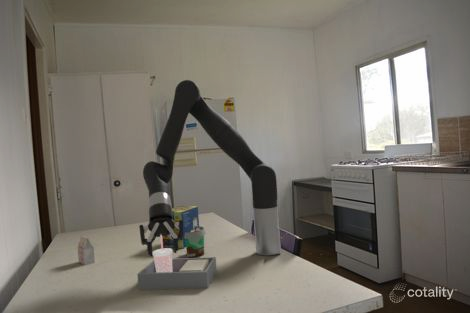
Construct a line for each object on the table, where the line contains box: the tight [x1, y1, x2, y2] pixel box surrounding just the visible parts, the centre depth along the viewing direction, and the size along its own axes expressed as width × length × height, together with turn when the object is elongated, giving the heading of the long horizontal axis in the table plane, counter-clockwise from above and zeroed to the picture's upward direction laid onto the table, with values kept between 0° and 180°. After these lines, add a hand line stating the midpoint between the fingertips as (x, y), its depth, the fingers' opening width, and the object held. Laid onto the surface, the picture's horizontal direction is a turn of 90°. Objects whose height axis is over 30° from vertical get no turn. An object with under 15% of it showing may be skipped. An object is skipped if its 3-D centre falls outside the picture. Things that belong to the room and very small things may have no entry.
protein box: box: [162, 205, 200, 249], centre depth 154 cm, size 10×15×16 cm
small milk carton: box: [77, 235, 96, 266], centre depth 136 cm, size 4×7×10 cm, turn 43°
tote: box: [136, 256, 218, 291], centre depth 106 cm, size 21×14×6 cm, turn 82°
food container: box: [185, 225, 207, 258], centre depth 135 cm, size 12×6×10 cm, turn 168°
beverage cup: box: [152, 235, 174, 273], centre depth 107 cm, size 6×6×14 cm
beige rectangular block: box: [179, 259, 209, 272], centre depth 105 cm, size 7×10×4 cm
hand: (163, 253), depth 105 cm, fingers open, 6 cm apart
